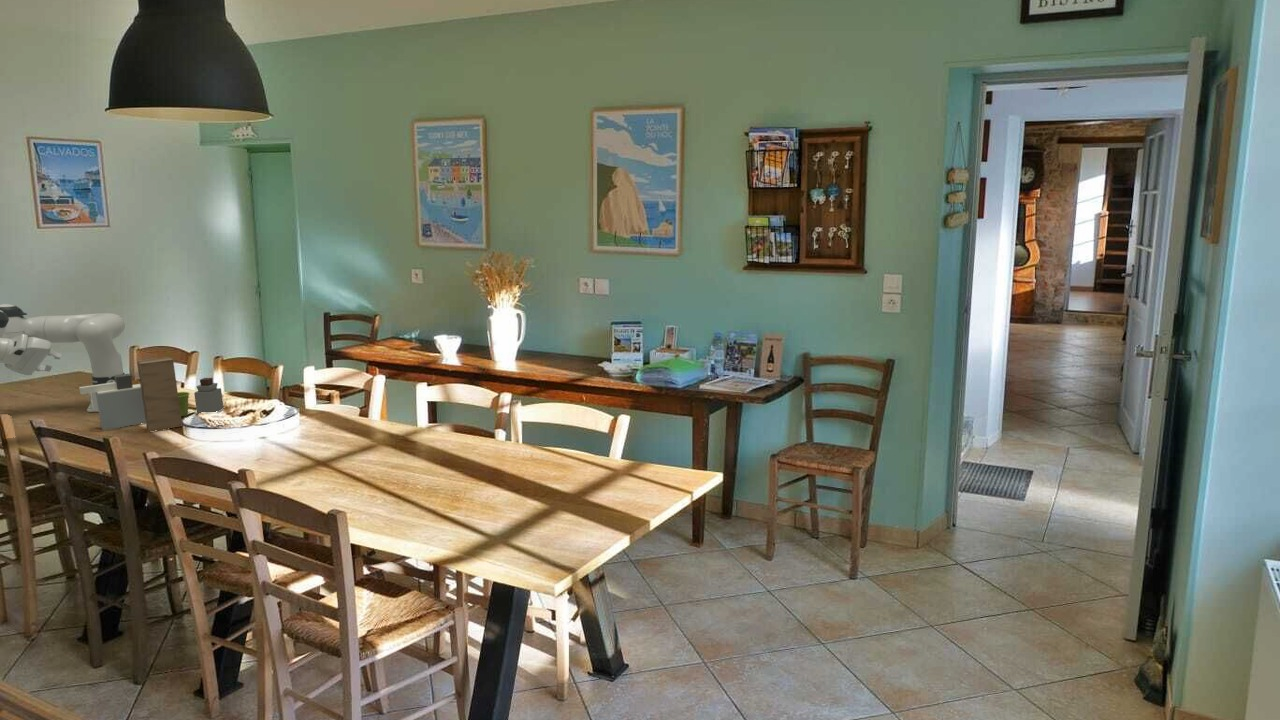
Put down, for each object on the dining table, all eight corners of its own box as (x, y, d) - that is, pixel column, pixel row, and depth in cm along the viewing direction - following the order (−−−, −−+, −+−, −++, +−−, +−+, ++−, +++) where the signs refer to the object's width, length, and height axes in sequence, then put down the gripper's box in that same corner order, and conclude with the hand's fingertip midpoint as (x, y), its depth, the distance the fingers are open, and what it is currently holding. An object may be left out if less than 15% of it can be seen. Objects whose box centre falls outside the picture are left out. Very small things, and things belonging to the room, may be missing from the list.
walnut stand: (146, 428, 350) (136, 360, 345) (178, 422, 356) (169, 356, 351) (150, 432, 343) (140, 364, 338) (182, 426, 350) (173, 359, 345)
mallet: (81, 395, 344) (79, 382, 343) (79, 392, 347) (77, 380, 346) (132, 387, 353) (130, 375, 352) (130, 385, 357) (128, 373, 356)
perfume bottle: (225, 422, 354) (219, 376, 351) (215, 427, 348) (209, 380, 344) (208, 422, 355) (202, 376, 351) (198, 427, 348) (192, 380, 345)
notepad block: (101, 426, 354) (95, 390, 351) (147, 419, 363) (142, 383, 360) (103, 430, 348) (97, 393, 346) (150, 422, 358) (145, 386, 355)
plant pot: (161, 419, 362) (158, 398, 361) (173, 413, 372) (170, 392, 370) (186, 418, 363) (183, 397, 361) (196, 412, 372) (193, 391, 370)
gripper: (0, 373, 334) (43, 383, 343) (22, 346, 323) (65, 356, 333) (3, 359, 337) (46, 369, 346) (24, 331, 326) (67, 342, 336)
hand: (55, 362), depth 339 cm, fingers open, 8 cm apart
